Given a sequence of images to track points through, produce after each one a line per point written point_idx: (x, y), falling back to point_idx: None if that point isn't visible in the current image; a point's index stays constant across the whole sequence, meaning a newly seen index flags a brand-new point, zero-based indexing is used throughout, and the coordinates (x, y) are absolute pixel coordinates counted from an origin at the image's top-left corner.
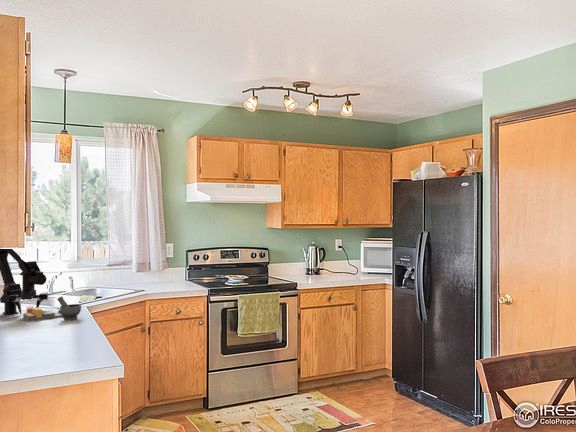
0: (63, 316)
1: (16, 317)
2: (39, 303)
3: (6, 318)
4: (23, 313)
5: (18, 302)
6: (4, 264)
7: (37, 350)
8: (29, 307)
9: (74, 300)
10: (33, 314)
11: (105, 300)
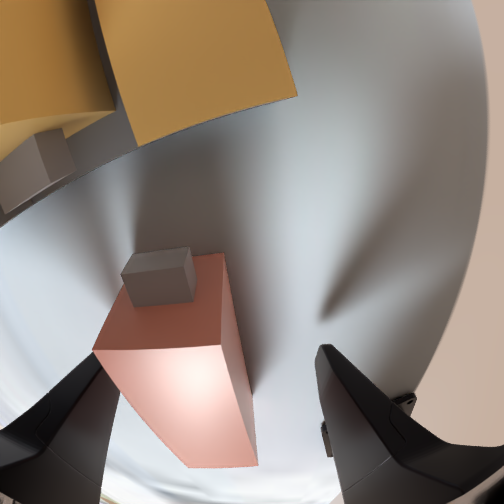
0: None
1: (374, 240)
2: (4, 430)
3: (466, 218)
4: (293, 86)
5: (450, 479)
6: None
7: None
8: (214, 449)
9: (115, 496)
10: (70, 4)
11: None
